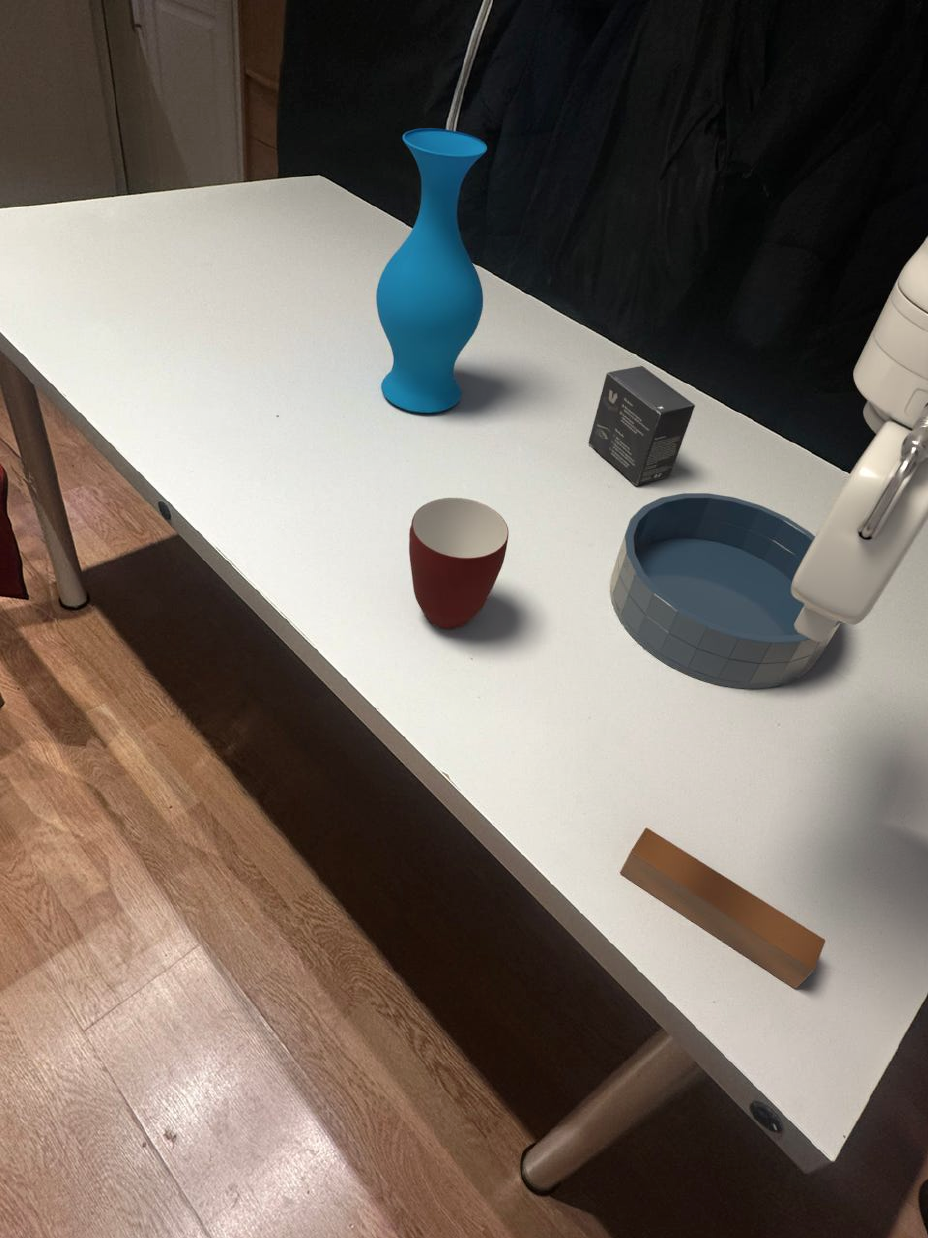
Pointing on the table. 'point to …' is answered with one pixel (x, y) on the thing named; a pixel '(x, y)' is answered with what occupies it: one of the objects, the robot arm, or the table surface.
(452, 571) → the mug
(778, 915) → the stick
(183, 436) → the table surface
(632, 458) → the box
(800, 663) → the bowl
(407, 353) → the vase
